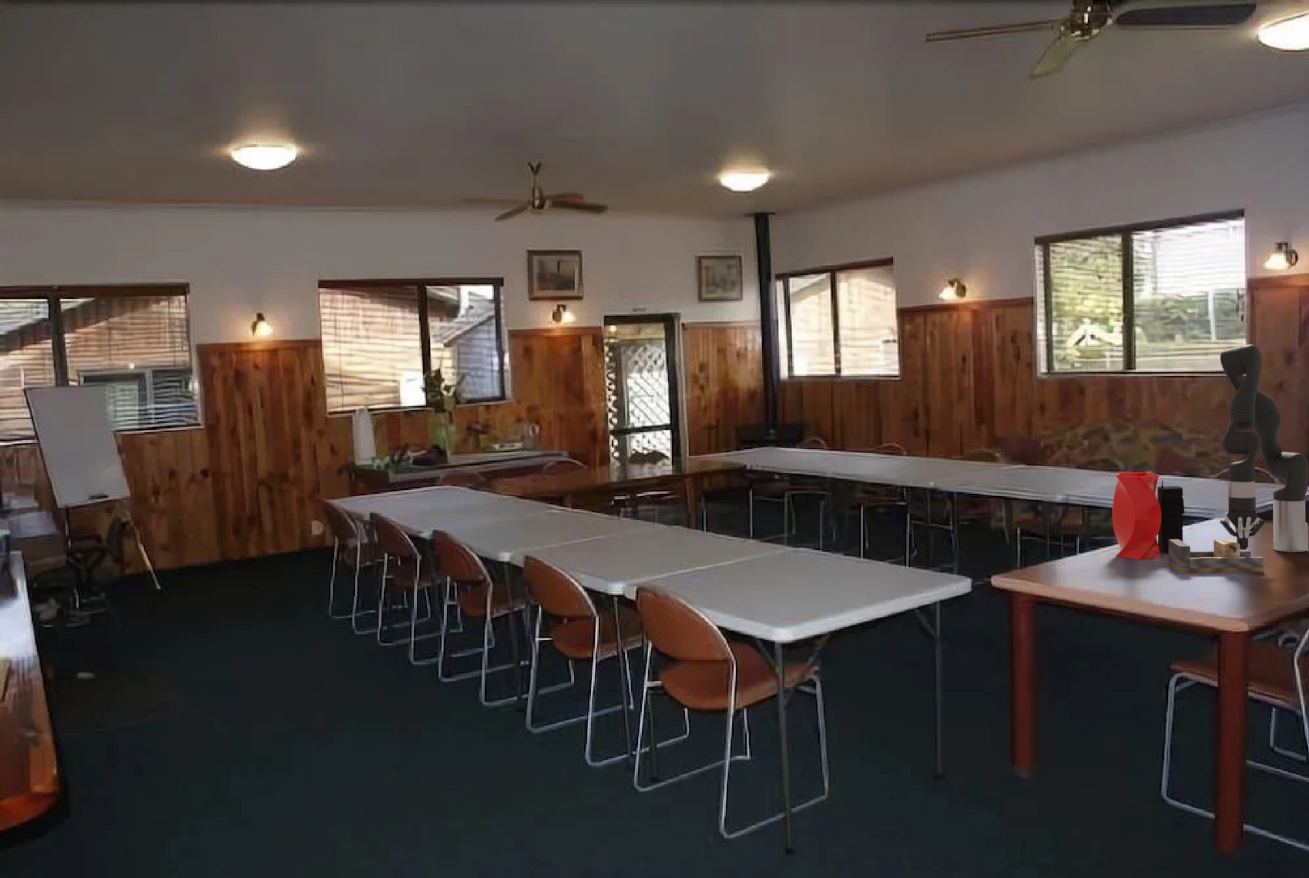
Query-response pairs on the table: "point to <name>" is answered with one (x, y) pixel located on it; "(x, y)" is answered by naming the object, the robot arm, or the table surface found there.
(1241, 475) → the robot arm
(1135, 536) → the vase
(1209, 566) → the grey piece
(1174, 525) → the portable radio
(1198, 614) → the table surface
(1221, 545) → the block
